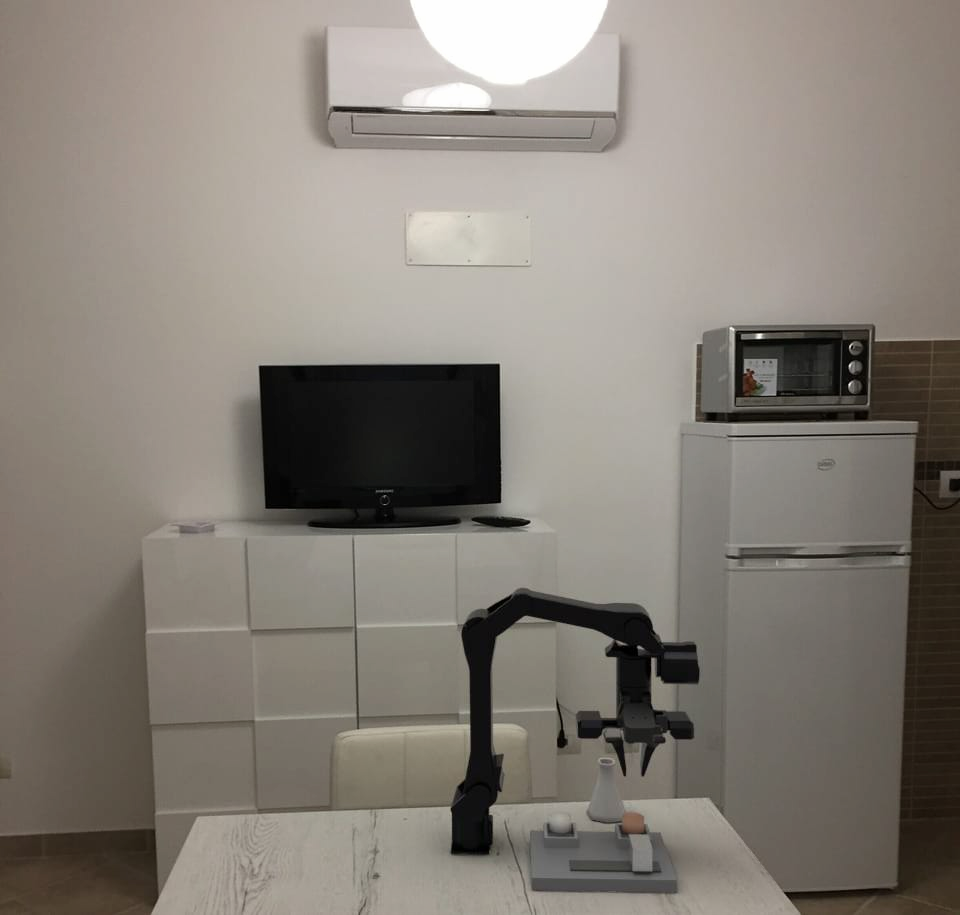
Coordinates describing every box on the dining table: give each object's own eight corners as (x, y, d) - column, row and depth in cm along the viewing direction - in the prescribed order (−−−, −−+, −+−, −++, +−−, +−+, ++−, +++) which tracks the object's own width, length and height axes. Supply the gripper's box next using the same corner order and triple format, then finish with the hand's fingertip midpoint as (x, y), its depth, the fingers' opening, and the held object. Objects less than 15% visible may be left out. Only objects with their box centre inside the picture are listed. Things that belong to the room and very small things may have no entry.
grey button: (550, 832, 143) (550, 821, 143) (549, 822, 147) (549, 810, 147) (572, 833, 143) (572, 821, 143) (570, 822, 147) (570, 811, 146)
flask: (625, 806, 161) (625, 753, 161) (627, 825, 154) (628, 769, 154) (585, 805, 162) (585, 752, 162) (586, 823, 155) (586, 768, 154)
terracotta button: (623, 834, 143) (623, 822, 143) (620, 823, 146) (620, 811, 146) (645, 834, 142) (645, 822, 142) (642, 823, 146) (642, 812, 146)
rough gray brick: (632, 871, 134) (632, 848, 134) (628, 856, 138) (629, 834, 138) (652, 871, 134) (652, 848, 133) (648, 856, 138) (648, 834, 138)
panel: (531, 890, 133) (531, 867, 133) (530, 841, 148) (530, 821, 148) (676, 893, 132) (676, 869, 132) (660, 843, 147) (660, 823, 147)
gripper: (580, 698, 135) (580, 796, 136) (701, 699, 135) (700, 798, 135) (575, 676, 146) (575, 767, 147) (687, 677, 146) (686, 768, 147)
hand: (633, 775), depth 144 cm, fingers open, 3 cm apart
